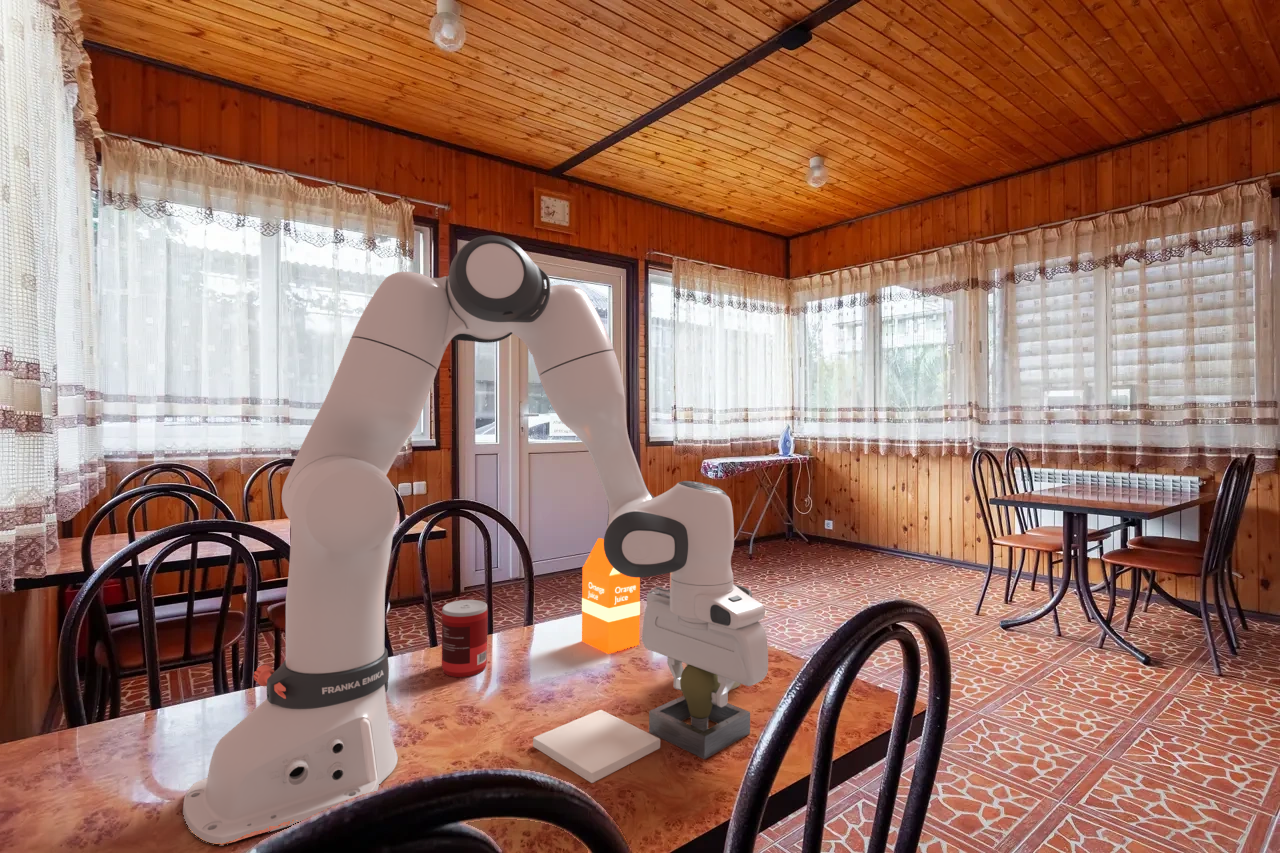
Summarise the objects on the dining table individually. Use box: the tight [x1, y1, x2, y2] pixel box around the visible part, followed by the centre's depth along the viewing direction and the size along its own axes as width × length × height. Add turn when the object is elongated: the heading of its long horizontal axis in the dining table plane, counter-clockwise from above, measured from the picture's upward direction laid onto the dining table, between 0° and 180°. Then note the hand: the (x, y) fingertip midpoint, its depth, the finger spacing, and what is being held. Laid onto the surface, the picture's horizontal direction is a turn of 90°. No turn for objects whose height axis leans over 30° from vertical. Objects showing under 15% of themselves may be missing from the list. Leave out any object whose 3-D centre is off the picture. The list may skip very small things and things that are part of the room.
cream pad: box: [532, 709, 661, 784], centre depth 86 cm, size 12×12×1 cm
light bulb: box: [680, 664, 720, 731], centre depth 90 cm, size 6×6×10 cm
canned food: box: [441, 599, 489, 678], centre depth 112 cm, size 8×8×11 cm
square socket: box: [648, 695, 751, 760], centre depth 90 cm, size 10×10×3 cm
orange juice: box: [581, 537, 641, 655], centre depth 126 cm, size 8×9×20 cm
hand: (699, 696), depth 90 cm, fingers closed on light bulb, 5 cm apart
